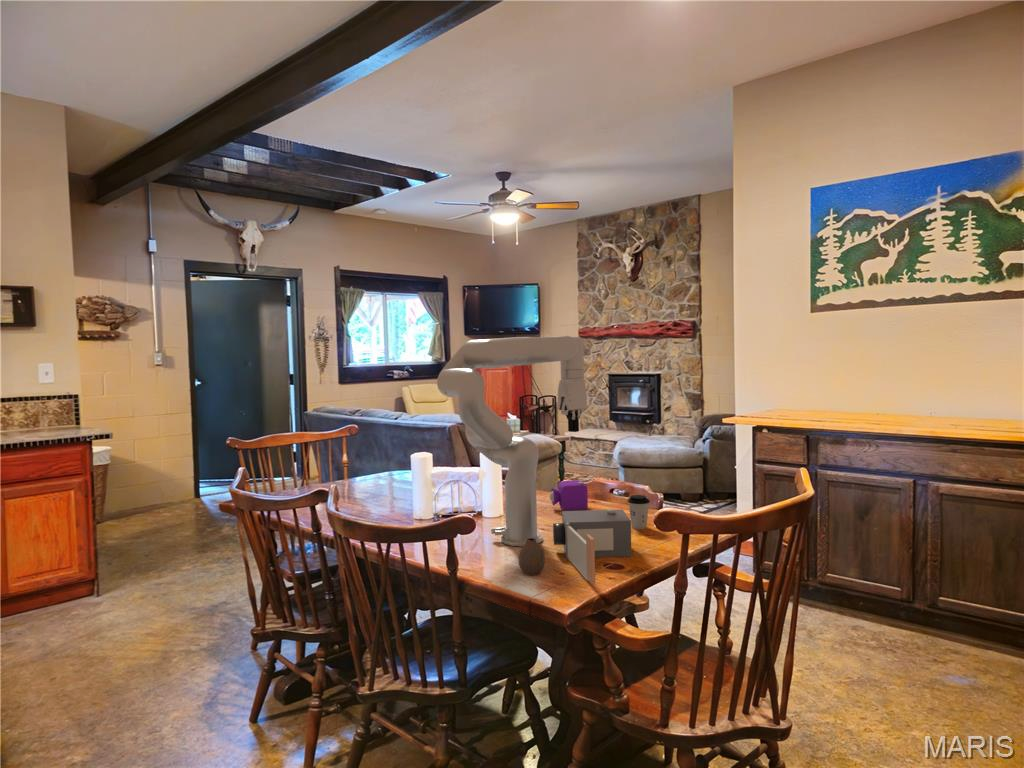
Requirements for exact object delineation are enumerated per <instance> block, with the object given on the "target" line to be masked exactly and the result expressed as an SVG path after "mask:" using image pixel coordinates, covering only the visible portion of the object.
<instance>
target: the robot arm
mask: <svg viewBox="0 0 1024 768" xmlns="http://www.w3.org/2000/svg"><path fill="white" fill-rule="evenodd" d="M584 360H585V358H584V340H583V338H582V337H581V336H569V335H557V336H546V337H545V336H542V337H535V336H515V337H503V338H502V337H501V338H500V337H499V338H486V339H485V338H484V339H471V340H468V341H466V342H465V343H463V344H462V346H460V348H459V349H458V350H456V352H455V353H454V354H453V356H452V357H451V358H450V359H449V361H448V362H447V363H446V364H445V365H444V367H442V370H441V371H440V372H439V374H438V377H437V378H436V379H437V381H436V383H437V389H438V391H439V392H440V393H441V394H442V395H443V396H446V397H448V398H456V399H458V415H459V418H460V419H459V420H460V421H461V422H462V424H464V426H465V429H464V431H465V437H466V439H467V441H468V443H469V444H470V445H471V446H472V447H473V448H474V449H475V450H476V451H478V452H479V453H481V454H482V456H484V457H485V458H487V459H488V460H489V461H491V462H493V463H494V464H495V465H500V466H504V467H507V468H508V469H507V473H506V476H505V478H504V505H505V510H504V511H505V523H504V525H501V527H491V528H490V529H491V535H494V536H501V537H500V541H501V543H502V544H504V545H507V546H513V547H522V546H523V545H524V544H525V542H526V540H527V539H528V538H535V539H536V541H537V543H538V544H540V543H541V542H542V541H543V535H542V534H541V533H539V532H538V514H537V513H538V511H537V510H538V508H537V505H538V504H537V470H538V469H537V468H538V467H537V466H538V463H539V455H540V454H539V449H538V446H537V444H536V443H535V441H533V440H531V439H529V438H527V437H522V436H516V435H514V432H513V429H512V427H511V426H510V424H509V423H508V422H506V421H505V420H504V419H503V418H502V417H501V415H500V416H499V415H498V414H497V413H496V411H494V410H493V409H492V408H491V407H490V406H489V405H488V404H487V403H486V400H485V387H486V385H485V380H484V377H483V375H482V374H481V372H480V371H478V370H477V369H496V368H504V367H516V366H530V365H534V364H535V365H536V364H541V363H542V364H543V363H552V362H560V379H559V380H558V381H559V382H558V387H557V409H558V410H559V411H560V414H561V415H562V416H563V415H564V416H565V417H566V420H567V430H568V432H570V433H577V432H579V431H580V422H579V421H580V420H581V419H580V418H581V414H583V413H584V412H585V411H586V409H585V408H587V402H588V401H587V400H588V399H587V396H588V395H587V388H586V381H585V370H584V369H585V363H584V362H585V361H584Z"/></svg>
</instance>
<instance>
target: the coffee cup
mask: <svg viewBox="0 0 1024 768" xmlns="http://www.w3.org/2000/svg"><path fill="white" fill-rule="evenodd" d="M627 502H628V507H629V508H628V509H629V516H630V517H629V518H630V520H631V529H633V530H646V529H647V527H648V516H649V506H650V503H651V501H650V499H649V498H647V496H646V495H643V494H633V495H630V496H629V498H628V500H627Z"/></svg>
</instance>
